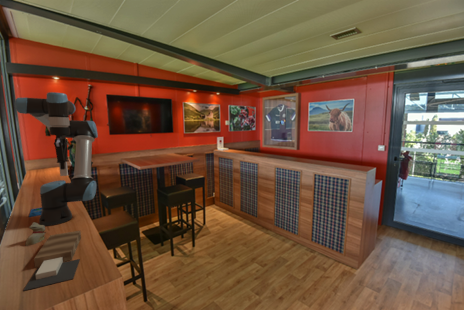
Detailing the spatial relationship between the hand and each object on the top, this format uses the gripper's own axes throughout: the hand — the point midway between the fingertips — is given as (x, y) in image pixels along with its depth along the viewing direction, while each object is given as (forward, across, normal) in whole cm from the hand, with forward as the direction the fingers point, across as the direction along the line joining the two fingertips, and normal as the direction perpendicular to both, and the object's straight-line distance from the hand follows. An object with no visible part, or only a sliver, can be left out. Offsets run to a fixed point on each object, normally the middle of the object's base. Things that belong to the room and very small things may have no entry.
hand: (64, 175), depth 104 cm
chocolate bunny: (+33, -3, -14) cm, 36 cm away
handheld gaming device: (+33, -48, -26) cm, 64 cm away
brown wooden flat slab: (+32, +12, -1) cm, 35 cm away
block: (+32, +27, -1) cm, 42 cm away
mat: (+32, +30, +1) cm, 44 cm away
